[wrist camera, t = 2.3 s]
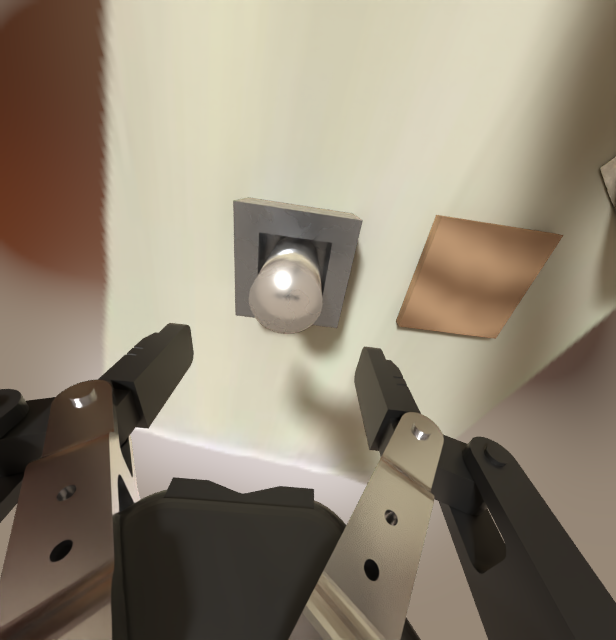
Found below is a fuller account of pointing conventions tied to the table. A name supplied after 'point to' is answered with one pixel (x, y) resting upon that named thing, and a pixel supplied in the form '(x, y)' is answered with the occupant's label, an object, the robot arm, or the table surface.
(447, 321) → the board
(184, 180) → the table surface
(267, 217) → the housing
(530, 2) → the table surface
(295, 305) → the plug
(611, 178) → the condiment
